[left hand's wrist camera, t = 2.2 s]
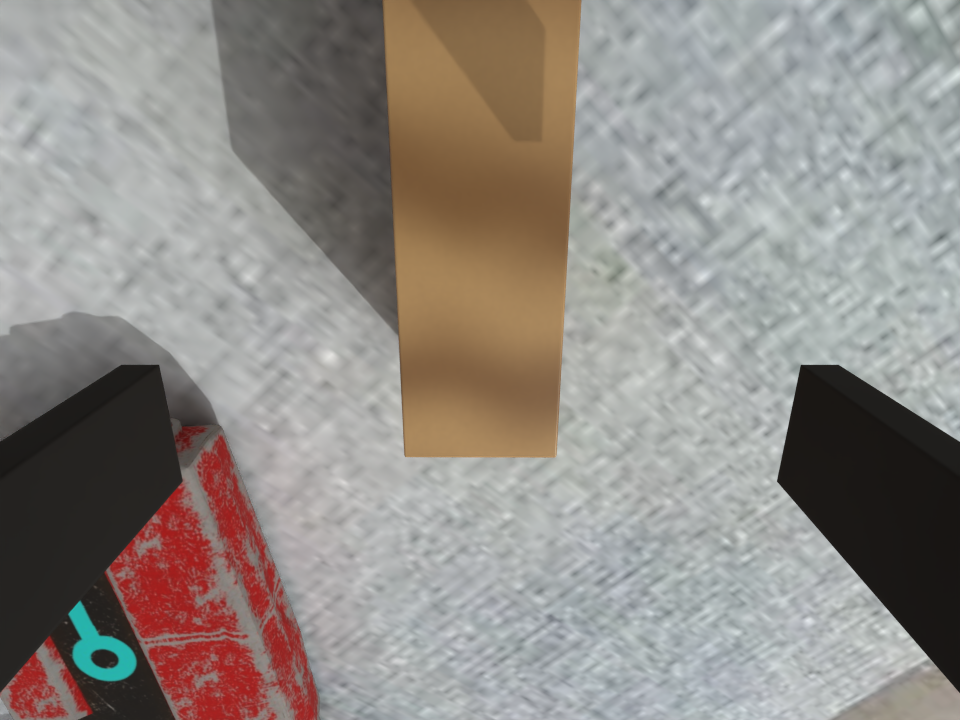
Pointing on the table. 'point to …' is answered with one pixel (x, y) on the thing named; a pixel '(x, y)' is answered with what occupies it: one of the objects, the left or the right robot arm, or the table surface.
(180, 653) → the gun
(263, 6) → the table surface
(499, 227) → the beam
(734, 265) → the table surface
